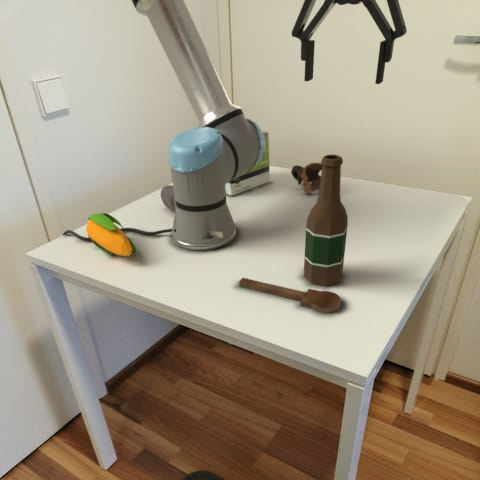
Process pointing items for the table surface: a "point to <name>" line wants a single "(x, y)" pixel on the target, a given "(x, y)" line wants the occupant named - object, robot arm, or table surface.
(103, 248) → the corn
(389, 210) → the table surface
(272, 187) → the table surface
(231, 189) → the tea box
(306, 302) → the wooden spoon
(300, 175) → the brown rounded hollow piece
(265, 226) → the table surface
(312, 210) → the beer bottle
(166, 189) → the perforated stone tool
